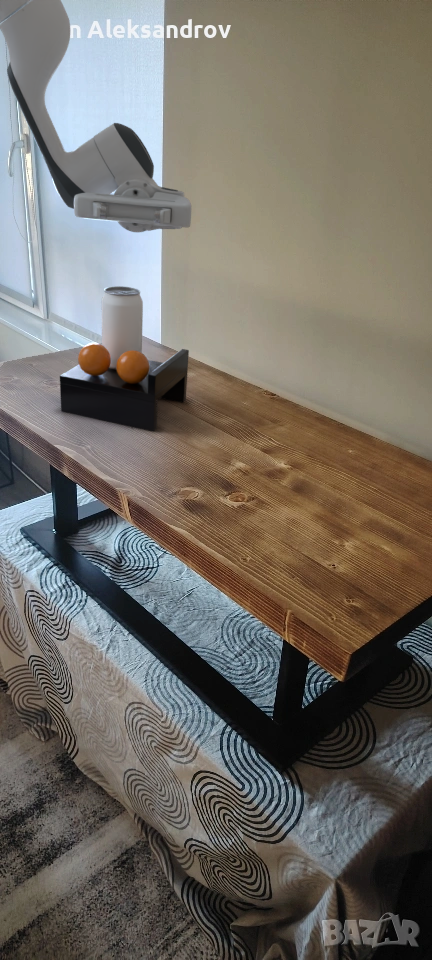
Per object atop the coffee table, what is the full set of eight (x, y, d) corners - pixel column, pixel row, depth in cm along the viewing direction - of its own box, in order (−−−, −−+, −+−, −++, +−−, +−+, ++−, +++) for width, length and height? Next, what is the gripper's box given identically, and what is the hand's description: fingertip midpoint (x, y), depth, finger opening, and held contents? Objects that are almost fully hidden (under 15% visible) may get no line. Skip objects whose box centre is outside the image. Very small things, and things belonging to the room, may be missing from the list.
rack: (61, 411, 100) (57, 344, 94) (102, 383, 111) (101, 322, 106) (153, 431, 96) (156, 362, 90) (185, 400, 107) (189, 338, 102)
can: (149, 364, 104) (151, 291, 98) (123, 374, 99) (124, 297, 93) (120, 355, 107) (120, 283, 101) (93, 364, 102) (92, 289, 96)
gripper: (79, 181, 113) (65, 188, 101) (192, 192, 114) (192, 200, 102) (80, 219, 116) (66, 230, 104) (190, 228, 117) (189, 240, 105)
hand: (130, 215), depth 103 cm, fingers open, 8 cm apart
